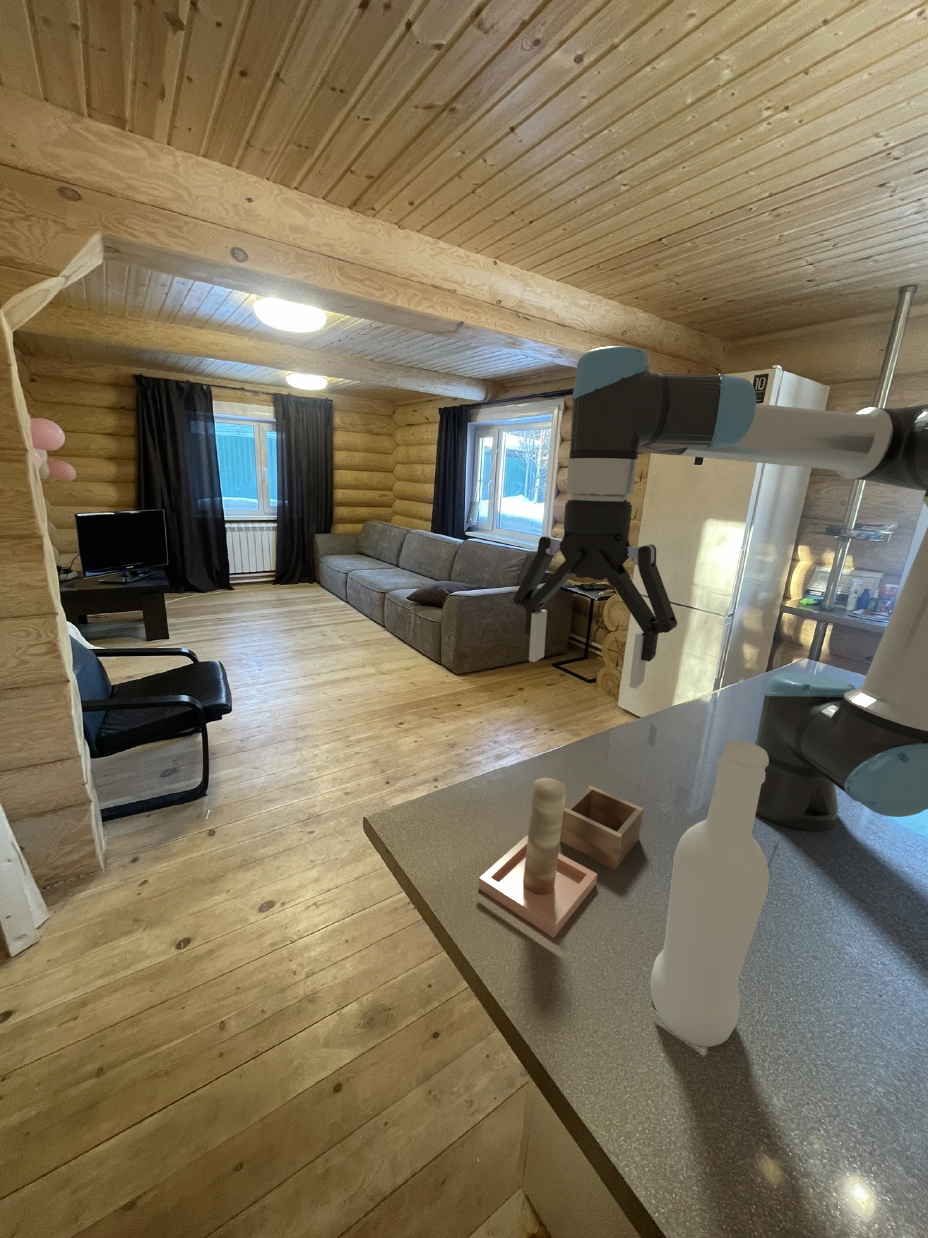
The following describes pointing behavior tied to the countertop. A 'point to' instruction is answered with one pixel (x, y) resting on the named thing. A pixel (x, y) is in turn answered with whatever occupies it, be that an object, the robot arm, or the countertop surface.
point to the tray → (536, 908)
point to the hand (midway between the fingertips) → (583, 671)
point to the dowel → (544, 835)
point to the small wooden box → (601, 826)
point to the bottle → (714, 905)
